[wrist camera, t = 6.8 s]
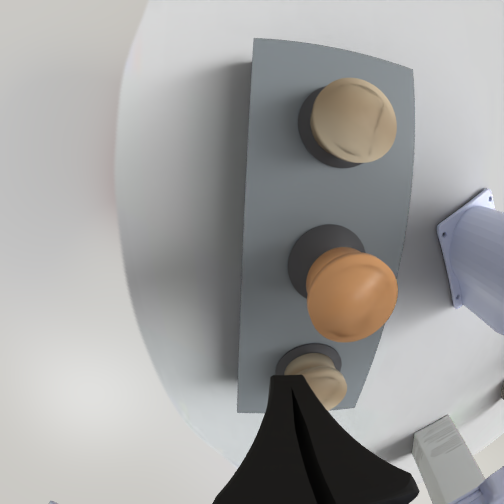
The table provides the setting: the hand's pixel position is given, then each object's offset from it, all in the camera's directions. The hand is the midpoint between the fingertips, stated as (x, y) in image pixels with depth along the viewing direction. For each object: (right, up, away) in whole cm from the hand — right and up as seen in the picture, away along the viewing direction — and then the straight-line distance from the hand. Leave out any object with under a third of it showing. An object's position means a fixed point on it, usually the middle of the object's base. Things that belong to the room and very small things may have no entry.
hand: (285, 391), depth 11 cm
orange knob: (+3, +4, +3) cm, 6 cm away
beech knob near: (+3, +13, +2) cm, 13 cm away
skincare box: (+26, -23, +18) cm, 39 cm away
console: (+3, +6, +9) cm, 11 cm away
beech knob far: (+3, -3, +7) cm, 8 cm away
